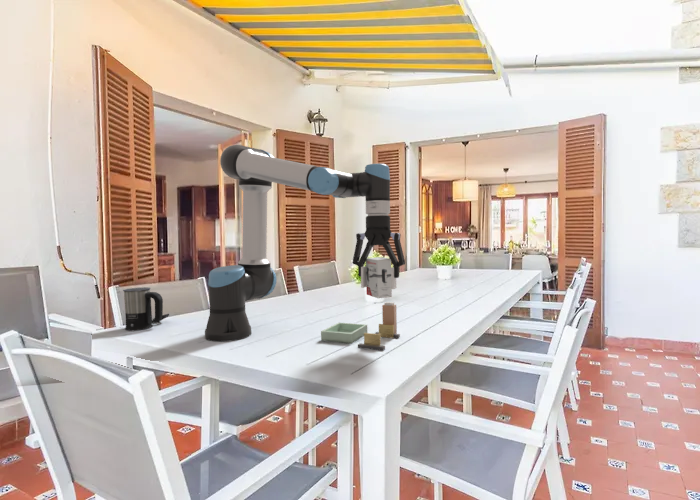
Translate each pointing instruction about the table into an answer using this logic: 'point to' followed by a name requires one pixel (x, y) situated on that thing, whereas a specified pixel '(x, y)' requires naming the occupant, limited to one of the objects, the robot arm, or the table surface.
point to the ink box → (378, 277)
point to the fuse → (390, 315)
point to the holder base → (375, 347)
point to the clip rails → (384, 331)
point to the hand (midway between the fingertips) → (378, 287)
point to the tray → (344, 332)
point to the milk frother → (142, 308)
